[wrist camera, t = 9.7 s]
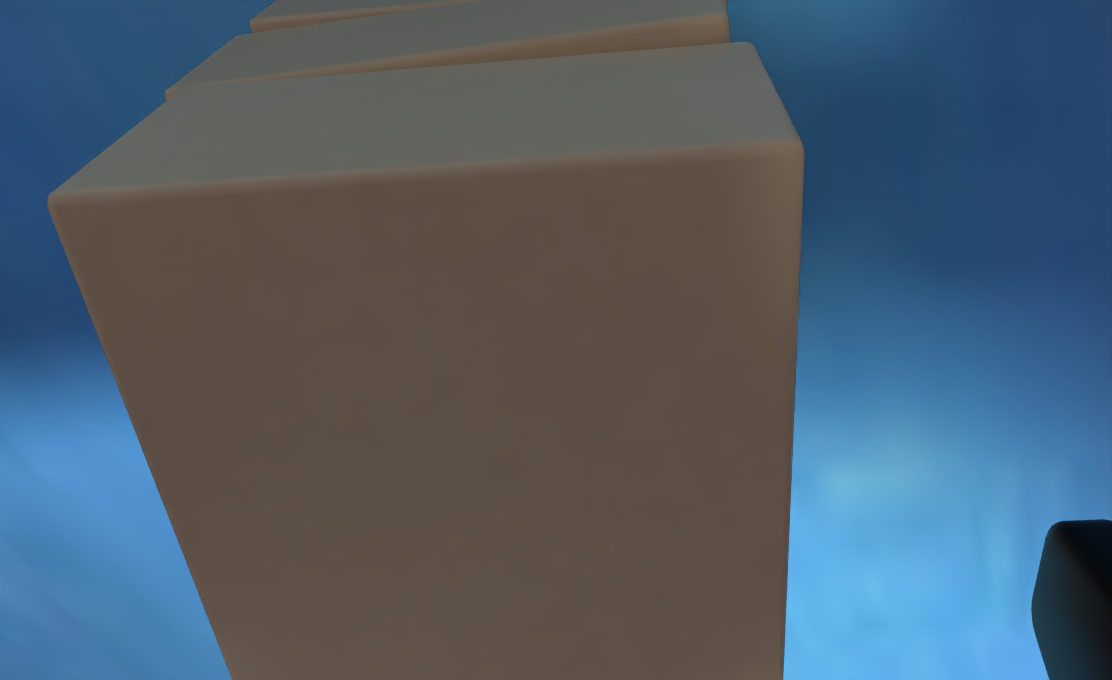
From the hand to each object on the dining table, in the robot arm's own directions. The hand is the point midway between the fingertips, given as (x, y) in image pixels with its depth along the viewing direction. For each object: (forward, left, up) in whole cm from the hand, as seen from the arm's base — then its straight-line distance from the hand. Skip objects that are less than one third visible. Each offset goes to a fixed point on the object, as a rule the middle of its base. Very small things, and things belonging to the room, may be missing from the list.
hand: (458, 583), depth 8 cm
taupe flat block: (0, 0, -3) cm, 3 cm away
